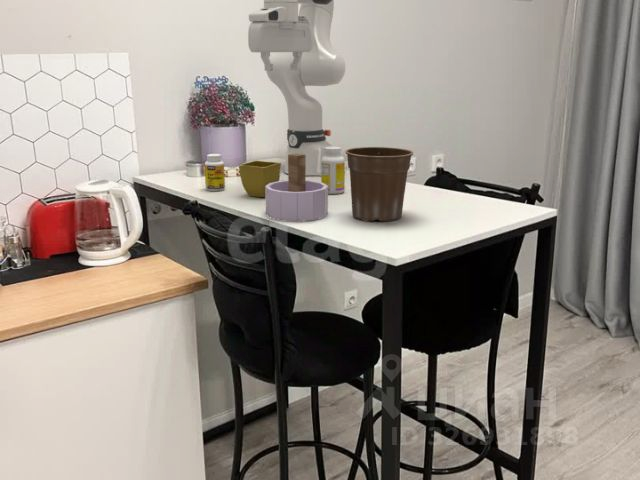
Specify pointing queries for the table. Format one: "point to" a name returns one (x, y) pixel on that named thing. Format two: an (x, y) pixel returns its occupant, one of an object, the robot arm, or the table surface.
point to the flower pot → (258, 176)
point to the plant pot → (378, 181)
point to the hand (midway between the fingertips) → (281, 70)
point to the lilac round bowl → (296, 201)
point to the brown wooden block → (296, 172)
